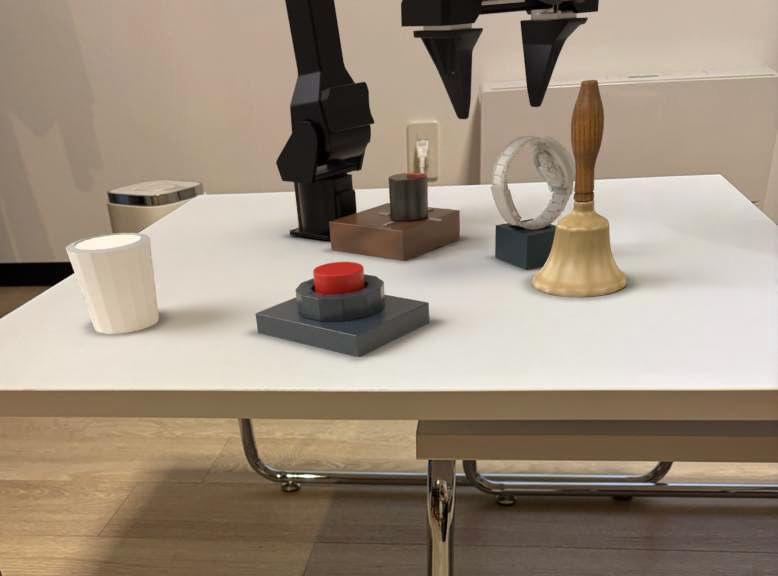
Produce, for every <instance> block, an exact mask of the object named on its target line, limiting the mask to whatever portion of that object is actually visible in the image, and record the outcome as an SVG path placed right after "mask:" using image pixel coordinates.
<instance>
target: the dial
mask: <svg viewBox="0 0 778 576" xmlns="http://www.w3.org/2000/svg"><path fill="white" fill-rule="evenodd" d="M428 183H429V182H428V174H426V173H424V172H402V173H397V174H392V175H389V176H388V195H389V203H390V218H391V219H392V220H396V221H416V220H421V219H424V218H427V217H428V207H429V190H428V187H429V186H428Z"/></svg>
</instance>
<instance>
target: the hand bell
mask: <svg viewBox="0 0 778 576" xmlns="http://www.w3.org/2000/svg"><path fill="white" fill-rule="evenodd" d="M604 128H605V112H604V105H603V100H602V98H601V92H600V88H599V82H598V80H597V79H589V80H587V79H586V80H582V81H581V83H580V87H579V92H578V95H577V97H576V101H575V103H574V106H573V109H572V115H571V123H570V142H571V143H570V144H571V149H572V154H573V159H574V163H575V166H576V174H575V181H574V186H573V200H574V201H573V207H572V211H571V212H570V213H568V214H566V216H564V217H561V218H560V219H559V220H557V222H556V225H555V226H556V230H555V236H554V241H553V245H552V249H551V252H550V255H549V257H548V259H547V261H546V263H545V264H544V266H542V267H541V269H539V271H537V272H536V273H535V274H534V275H533V278H532V280H531V286H532V287H533V288H534V289H535V290H536V291H538V292H540V293H543V294H546V295H551V296H555V297H556V296H557V297H563V298H590V297H591V298H592V297H599V296H606V295H610V294H613V293H616V292H619V291H620V290H622V289H624V288H625V287H626V286H627V284H628V279H627V277H626V274H625V273H624V271H623V270H622V269H620V268H619V266H618V264H617V263H616V261H615V258H614V255H613V250H612V246H611V235H610V222H609V219H608V218H607V217H605V216H603V215H601V214H599V213H598V212H596V210H595V192H594V191H595V169H596V162H597V158H598V155H599V153H600V150H601V147H602V142H603V135H604V130H605V129H604Z"/></svg>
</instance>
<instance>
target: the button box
mask: <svg viewBox="0 0 778 576" xmlns="http://www.w3.org/2000/svg"><path fill="white" fill-rule="evenodd" d="M364 282H365V288H364V289H362V290H359V291H357V292H351V293H345V294H322V293H316V292H315V285H314V277H313V278H311V279H308V280H305V281H302V282H300V283H299V285H298V286H296V287H295V297H293V298H291V299H288V300H286V301H283V302H281V303H277V304H274V305H273V306H271V307H270V306H269V307H268V308H265V309H263V310H260V311H258V312H256V313H254V315H255V322H256V329H257V333H258V334H262V335H265V336H270V337H272V338H278V339H281V340H285V341H289V342H290V341H291V342H294V343H298V344H302V345H307V346H311V347H315V348H320V349H322V350H326V351H327V350H328V351H332V352H336V353H340V354H345V355H348V356H351V357H356V358H359V357H362V356H365V355H366V354H368V353H370V352H372V351H374V350H376V349H378V348H380V347H382V346H384V345H386V344H389V343H391V342H392V341H395V340H397V339H398V338H400V337H403V336H405V335H406V334H409V333H411V332H413V331H415V330H417V329H419V328H421V327H423V326H425V325H427V324H429V323H430V303H429V301H428V302H427V301H424V300H417V299H412V298H405V297H400V296H394V295H390V294H385V281H384V280H382V279H381V278H379V277H378V276H376V275H371V274H365V273H364Z"/></svg>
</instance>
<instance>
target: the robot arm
mask: <svg viewBox="0 0 778 576" xmlns="http://www.w3.org/2000/svg"><path fill="white" fill-rule="evenodd" d="M284 2H285V8H286V13H287V20H288V25H289V31H290V36H291V37H290V38H291V42H292V47H293V53H294V58H295V63H296V71H297V78H296V82H295V84H294V85H295V86H294V90H293V93H292V97H291V101H290V104H289V113H290V125H291V134H290V136H289V137H288V139H287V141H286V143H285V145H284V146H283V147H282V150H281V151H280V153H279V155H278V157H277V158H276V161H275V164H276V167H277V170H278V174H279V176H280V179H281V181H282V182H289V183H293V185H294V186H293V187H294V197H295V203H296V205H295V206H296V215H297V223H298V224H297V225H298V227H296V228H293V229H290V230H289V235H290V236H296V237H304V238H309V239H318V240H324V241H331V239H330V227H329V222H330V221H333V220H336V219H339V218H343V217H346V216H349V215H352V214H355V213H358V211H357V198H356V196H357V195H356V190H355V189H354V187H353V186H354V184H353V174H351V173H352V172H359V171H361V170H362V169H363V164H364V159H365V155H366V154H365V153H366V149H367V146H368V145H369V144H370V142H371V138H372V128H371V125H375V120H374V116H373V115H372V112H371V107H370V90H369V87H368V84H367V82H366V81H360V82H355V81H354V79H353V78H352V76H351V75H350V73H349V71H348V69H347V68H346V66H345V62H344V55H343V49H342V41H341V36H340V29H339V23H338V16H337V9H336V3H335V0H284ZM599 3H600V0H401V2H400V16H401V17H400V19H401V21H400V22H401V24H400V25H401V27H402V28H403V27H404V28H405V27H423V28H422V29H418V30H413V31H412V33H413V34H412V35H413V38H414V39H415V38H416V39H420V40H421V41H422V44H423V45H424V47H425V49H426V51H427V53H428V54H429V56H430V59H431V61H432V62H433V65H434V66H435V68H436V70H437V73H438V75H439V77H440V79H441V83H442V84H443V87H444V89H445V91H446V93H447V96H448V98H449V101H450V103H451V105H452V109H453V110H454V113H455V115H456V117H457V119H459V120H469V117H470V109H471V101H472V77H473V74H472V73H473V52H474V48H475V47H476V44H477V43H478V41H479V39H480V37H481V35H482V34H483V31H484V27H473V24H476V22H477V20H478V18H479V17H480V16H481V15H493V14H494V15H495V14H506V13H515V12H517V13H518V12H526V14H527V16H529V15H530V19H521V20H520V22H519V23H520V34H521V43H522V52H523V63H524V71H525V83H526V90H527V91H526V92H527V94H528V95H527V96H528V102H529V106H530V107H532V108H539V107H541V106H542V104H543V101H544V99H545V95H546V94H547V90H548V88H549V84H550V82H551V78H552V76H553V73H554V70H555V67H556V64H557V62H558V59H559V57H560V54H561V51H562V50H563V48H564V45H565V43H566V41H567V40H568V39H569V37H570V36H571V35H572V34H573V33H574V32H575V31H576V30H577V29H578V28H579V27H580V26H582V25H585V24H586V23H587V22H588V19H589V17H587V16H585V17H577V16H578V14H584V13H585V14H586V13H596V12H597V13H598V12H599Z"/></svg>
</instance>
